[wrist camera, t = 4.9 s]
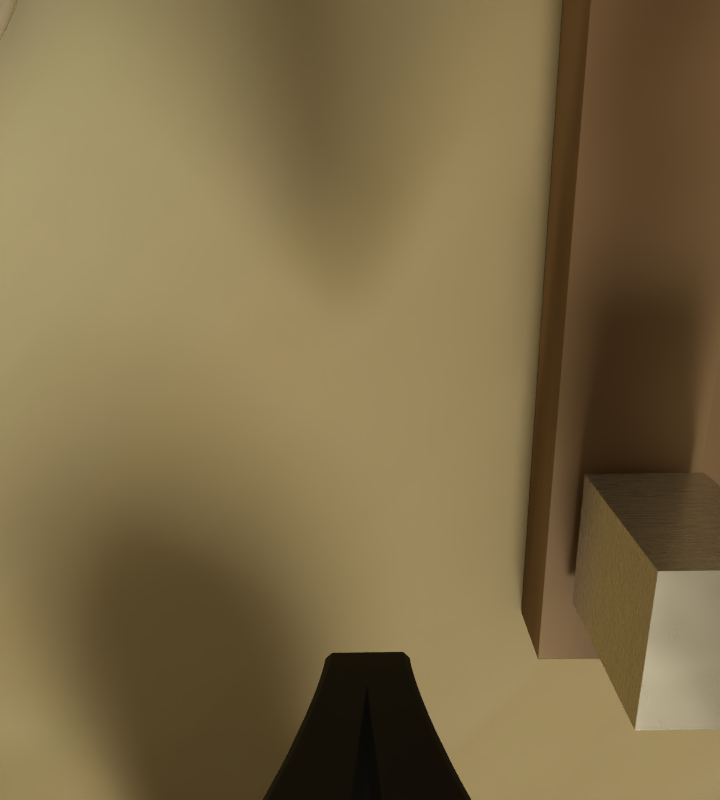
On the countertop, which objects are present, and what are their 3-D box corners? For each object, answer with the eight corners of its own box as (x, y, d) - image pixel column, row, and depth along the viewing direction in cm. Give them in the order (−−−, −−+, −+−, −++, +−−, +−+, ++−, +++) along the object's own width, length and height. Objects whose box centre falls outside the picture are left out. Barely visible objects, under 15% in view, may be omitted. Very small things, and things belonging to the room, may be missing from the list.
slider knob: (703, 472, 15) (818, 569, 11) (682, 601, 16) (779, 729, 12) (584, 474, 15) (658, 571, 11) (572, 602, 16) (634, 729, 12)
